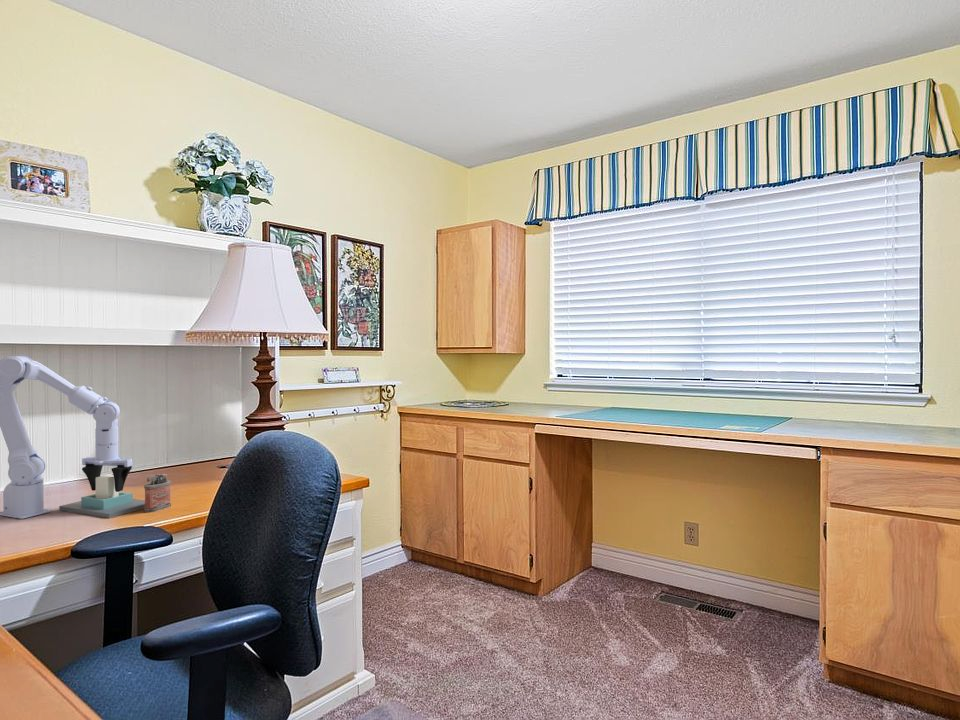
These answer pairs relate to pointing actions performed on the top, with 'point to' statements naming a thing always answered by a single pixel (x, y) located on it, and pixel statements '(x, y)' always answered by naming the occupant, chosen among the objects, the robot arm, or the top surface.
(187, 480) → the top surface
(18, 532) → the top surface
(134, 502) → the organizer
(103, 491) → the cream block
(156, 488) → the lighter
